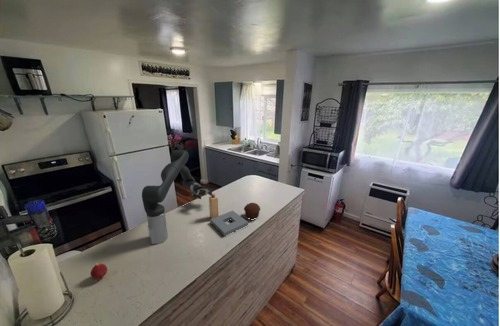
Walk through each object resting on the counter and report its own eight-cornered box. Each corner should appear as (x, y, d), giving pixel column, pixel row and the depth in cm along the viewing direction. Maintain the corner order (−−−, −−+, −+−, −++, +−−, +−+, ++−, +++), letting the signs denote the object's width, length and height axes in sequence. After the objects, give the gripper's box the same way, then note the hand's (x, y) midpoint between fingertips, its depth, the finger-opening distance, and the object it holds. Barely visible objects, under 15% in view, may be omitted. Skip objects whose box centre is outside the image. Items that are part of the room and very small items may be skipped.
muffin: (250, 223, 128) (250, 210, 125) (240, 216, 136) (240, 203, 134) (263, 217, 136) (263, 204, 133) (253, 210, 144) (253, 198, 141)
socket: (224, 237, 115) (224, 232, 114) (210, 223, 128) (210, 219, 127) (248, 226, 125) (248, 222, 125) (232, 214, 139) (232, 210, 138)
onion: (111, 272, 89) (108, 258, 87) (102, 283, 84) (99, 268, 81) (98, 272, 89) (95, 258, 87) (89, 283, 83) (85, 269, 81)
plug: (212, 220, 131) (211, 197, 126) (209, 217, 134) (208, 194, 129) (218, 218, 134) (217, 195, 129) (215, 215, 137) (214, 193, 132)
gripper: (187, 186, 146) (196, 194, 134) (204, 182, 154) (214, 189, 142) (188, 195, 148) (197, 203, 136) (205, 190, 156) (215, 198, 144)
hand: (206, 196), depth 139 cm, fingers open, 8 cm apart
